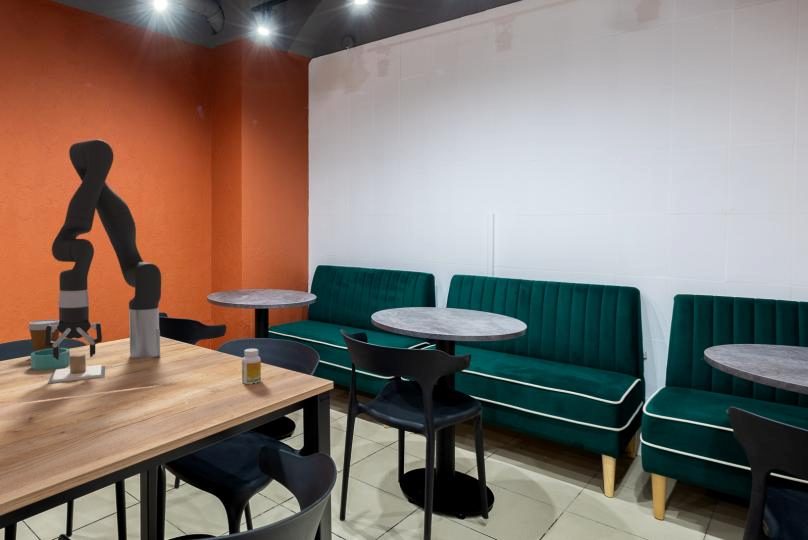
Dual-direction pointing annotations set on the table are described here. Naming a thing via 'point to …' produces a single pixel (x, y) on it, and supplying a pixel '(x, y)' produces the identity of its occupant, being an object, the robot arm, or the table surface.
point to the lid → (77, 370)
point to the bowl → (49, 359)
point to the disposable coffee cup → (42, 333)
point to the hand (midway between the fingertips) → (74, 357)
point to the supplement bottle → (251, 367)
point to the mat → (78, 380)
